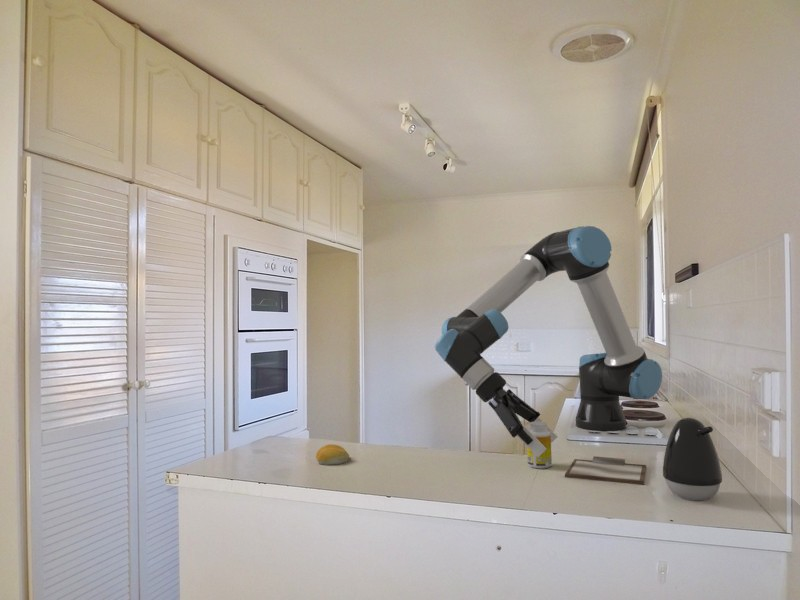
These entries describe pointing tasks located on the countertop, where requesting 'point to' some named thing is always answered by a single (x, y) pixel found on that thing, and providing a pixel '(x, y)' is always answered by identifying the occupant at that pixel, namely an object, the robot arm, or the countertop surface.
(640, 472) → the clipboard
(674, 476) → the pump dispenser
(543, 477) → the countertop surface
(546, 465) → the supplement bottle
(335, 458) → the bread roll
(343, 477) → the countertop surface
